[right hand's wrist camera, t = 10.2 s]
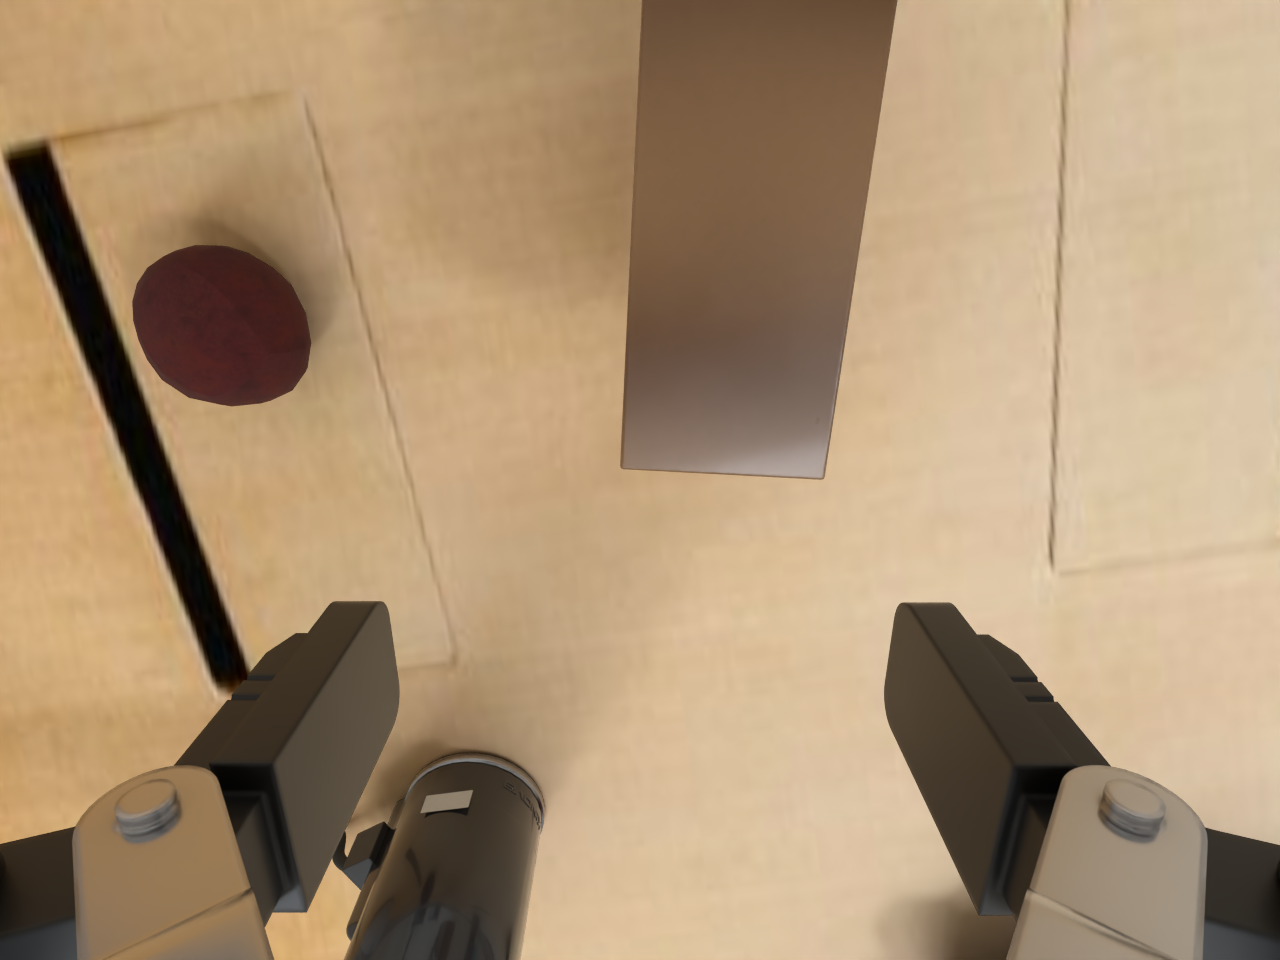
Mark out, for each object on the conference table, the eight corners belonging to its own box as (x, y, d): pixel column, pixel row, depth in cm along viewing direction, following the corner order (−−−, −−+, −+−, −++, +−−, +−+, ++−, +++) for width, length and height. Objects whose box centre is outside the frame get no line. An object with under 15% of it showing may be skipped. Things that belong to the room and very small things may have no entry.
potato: (254, 209, 36) (168, 212, 30) (365, 336, 38) (309, 365, 32) (156, 300, 38) (54, 323, 31) (268, 416, 40) (195, 460, 33)
